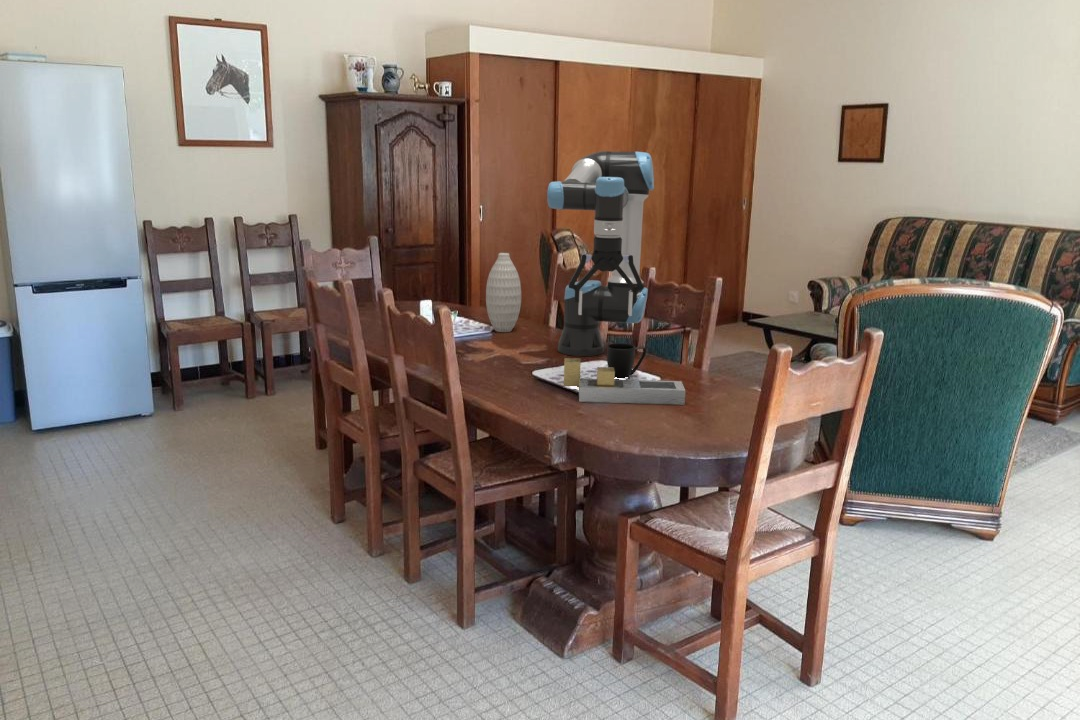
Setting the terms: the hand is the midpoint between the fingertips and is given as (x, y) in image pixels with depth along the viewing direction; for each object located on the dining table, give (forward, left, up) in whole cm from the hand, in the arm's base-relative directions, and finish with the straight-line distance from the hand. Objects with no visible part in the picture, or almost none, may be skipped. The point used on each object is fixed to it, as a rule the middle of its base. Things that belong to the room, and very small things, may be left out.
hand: (604, 314), depth 234 cm
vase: (-76, -33, -22) cm, 86 cm away
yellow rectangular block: (-3, -8, -22) cm, 23 cm away
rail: (+6, +8, -22) cm, 24 cm away
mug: (-16, +8, -22) cm, 28 cm away
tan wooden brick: (+6, +1, -22) cm, 23 cm away
